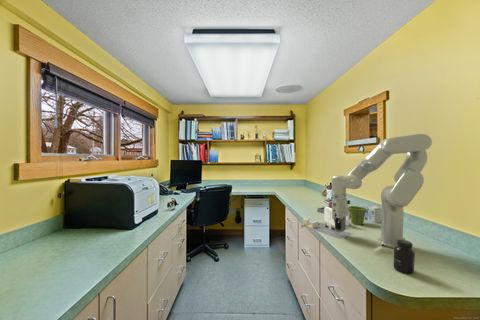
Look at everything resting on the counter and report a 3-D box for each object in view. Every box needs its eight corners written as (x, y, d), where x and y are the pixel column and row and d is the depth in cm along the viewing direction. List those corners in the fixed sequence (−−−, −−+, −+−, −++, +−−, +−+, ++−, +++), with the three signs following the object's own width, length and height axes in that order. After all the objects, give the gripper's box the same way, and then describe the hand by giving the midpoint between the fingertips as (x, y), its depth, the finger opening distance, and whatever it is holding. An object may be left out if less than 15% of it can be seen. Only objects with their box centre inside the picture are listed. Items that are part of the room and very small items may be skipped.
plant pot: (362, 221, 153) (362, 206, 153) (369, 226, 141) (370, 210, 141) (345, 220, 155) (345, 205, 155) (351, 225, 143) (351, 209, 143)
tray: (362, 213, 174) (363, 210, 174) (344, 218, 159) (344, 214, 159) (336, 207, 194) (336, 204, 194) (317, 211, 179) (317, 208, 179)
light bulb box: (361, 218, 160) (362, 204, 160) (368, 218, 162) (369, 204, 162) (374, 223, 150) (375, 208, 149) (381, 222, 152) (382, 207, 151)
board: (353, 236, 123) (353, 228, 123) (339, 241, 116) (339, 232, 116) (314, 223, 146) (314, 216, 146) (301, 227, 138) (301, 220, 138)
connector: (345, 230, 120) (345, 216, 121) (341, 231, 118) (341, 218, 118) (339, 228, 124) (338, 215, 124) (335, 229, 122) (334, 216, 122)
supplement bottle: (391, 270, 86) (392, 241, 86) (394, 264, 91) (395, 237, 91) (413, 277, 81) (414, 246, 81) (415, 270, 86) (416, 241, 86)
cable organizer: (350, 228, 138) (350, 210, 138) (336, 229, 136) (336, 211, 136) (336, 221, 152) (336, 205, 152) (323, 221, 151) (323, 205, 150)
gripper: (336, 199, 113) (338, 233, 113) (353, 195, 123) (354, 226, 123) (324, 197, 120) (325, 229, 120) (341, 194, 129) (342, 224, 129)
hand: (340, 227), depth 121 cm, fingers closed on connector, 4 cm apart
